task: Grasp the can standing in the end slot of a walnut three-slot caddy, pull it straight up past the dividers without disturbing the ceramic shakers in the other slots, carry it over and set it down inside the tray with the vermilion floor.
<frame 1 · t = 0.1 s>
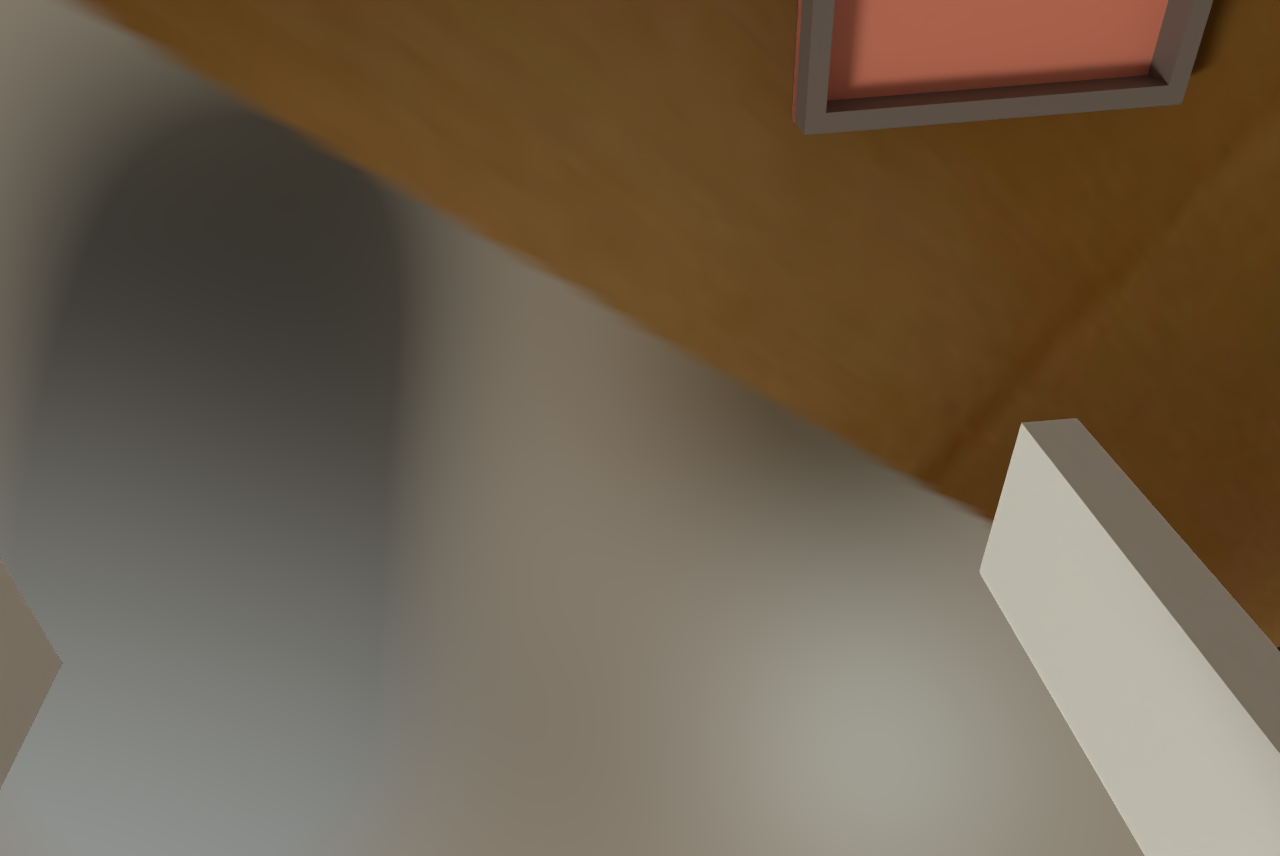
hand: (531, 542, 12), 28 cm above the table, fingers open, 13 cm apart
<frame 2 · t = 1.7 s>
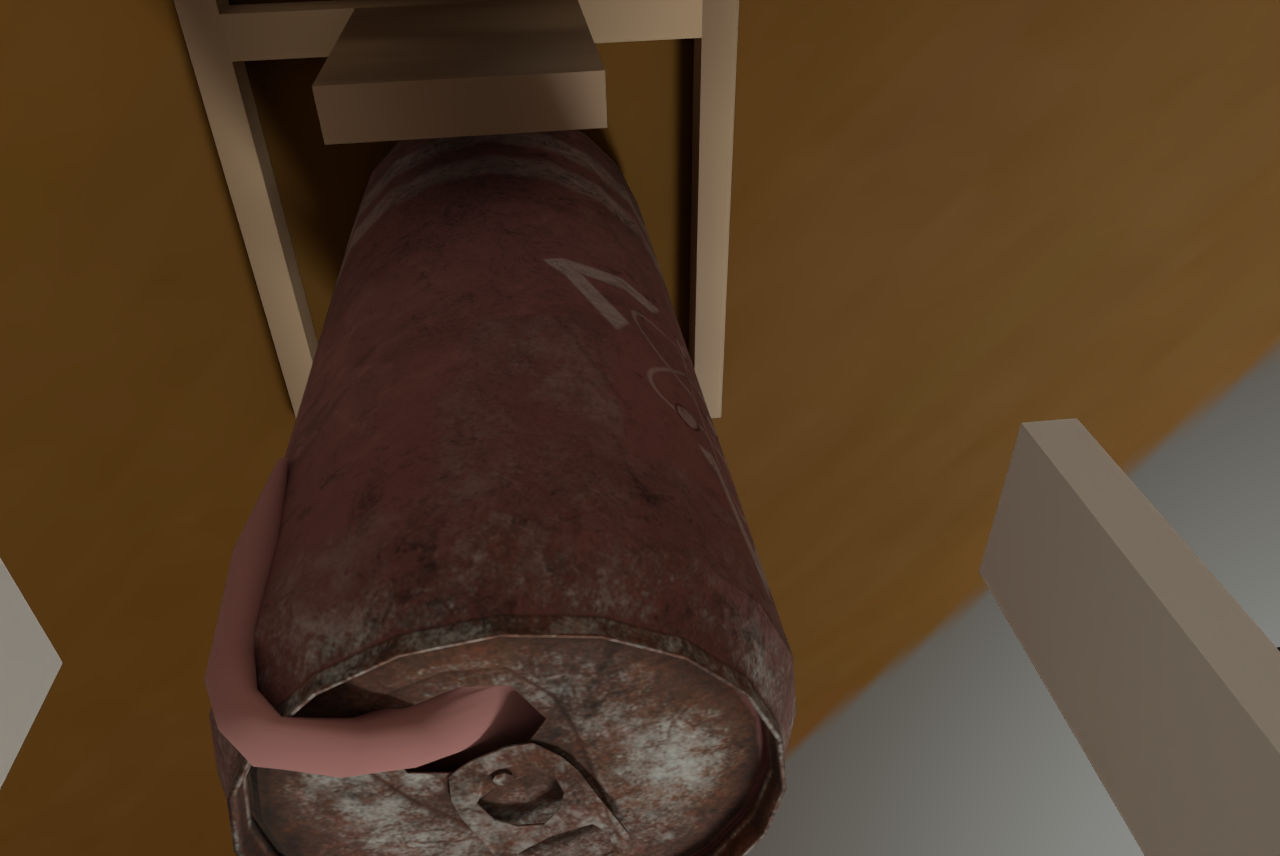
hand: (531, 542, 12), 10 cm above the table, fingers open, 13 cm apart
can: (496, 232, 20), resting in caddy
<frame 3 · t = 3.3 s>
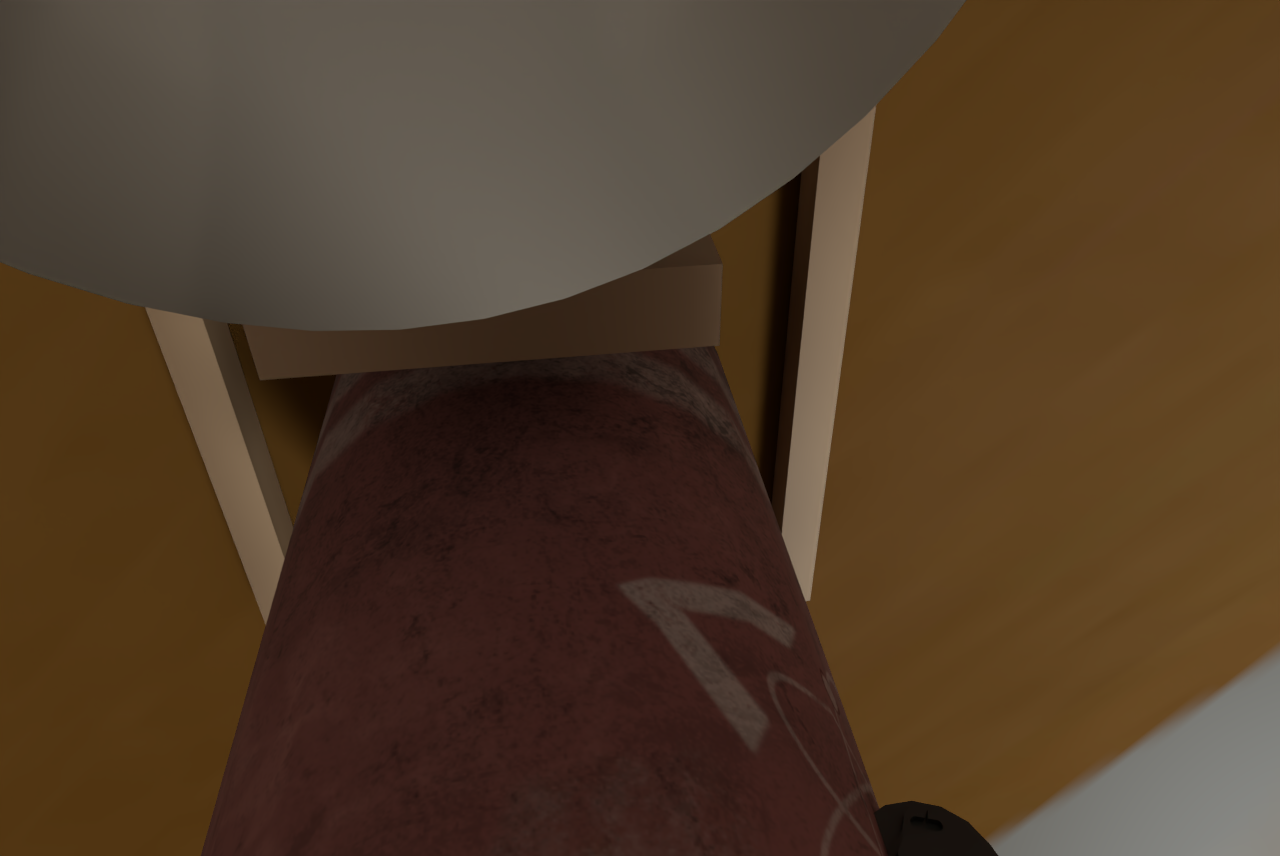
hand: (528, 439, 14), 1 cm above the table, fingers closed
can: (525, 382, 15), resting in caddy, touching hand
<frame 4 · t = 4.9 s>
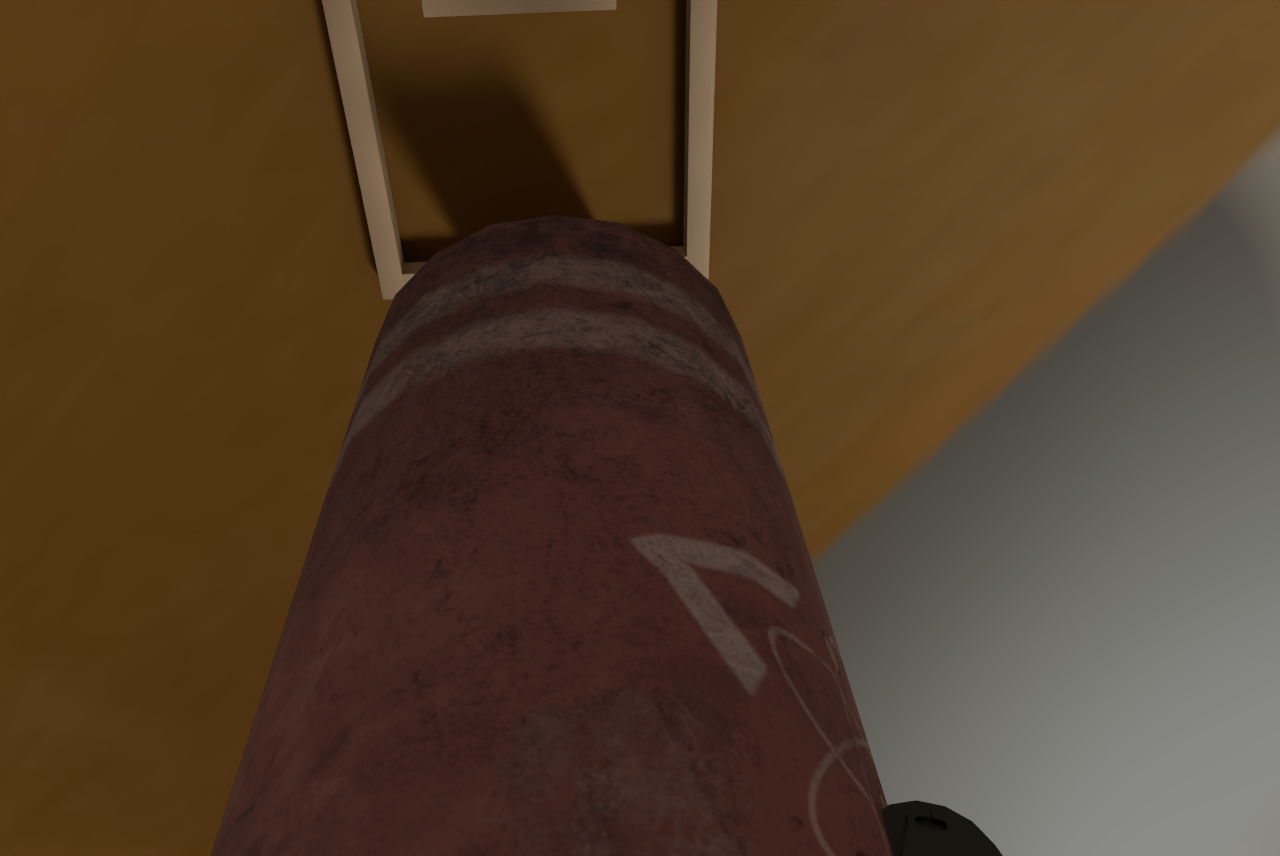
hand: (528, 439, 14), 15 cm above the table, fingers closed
can: (554, 360, 16), point 13 cm above the table, touching hand
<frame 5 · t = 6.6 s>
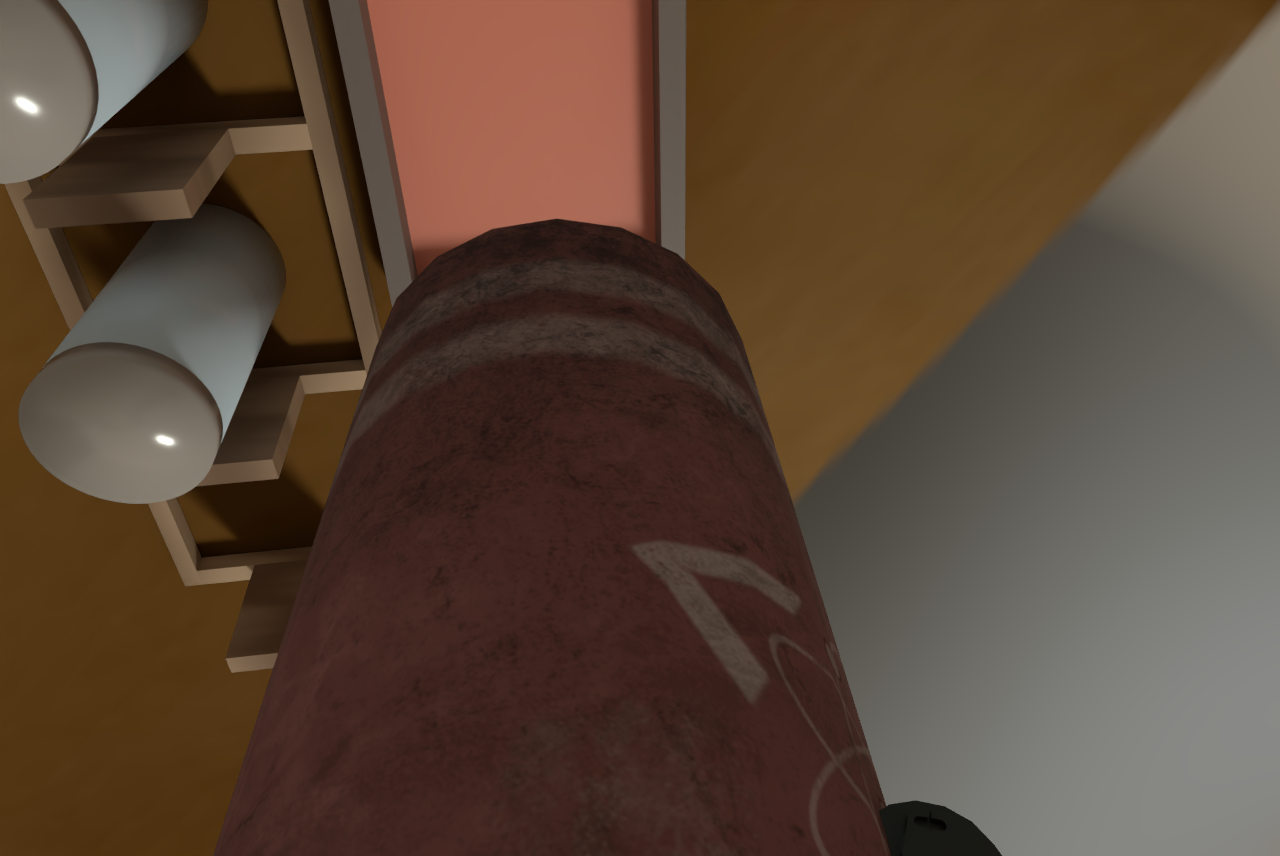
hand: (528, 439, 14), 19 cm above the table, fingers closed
caddy: (215, 267, 31), on the table
shaker a: (215, 267, 31), resting in caddy
can: (555, 364, 16), point 17 cm above the table, touching hand
tray: (518, 67, 29), on the table
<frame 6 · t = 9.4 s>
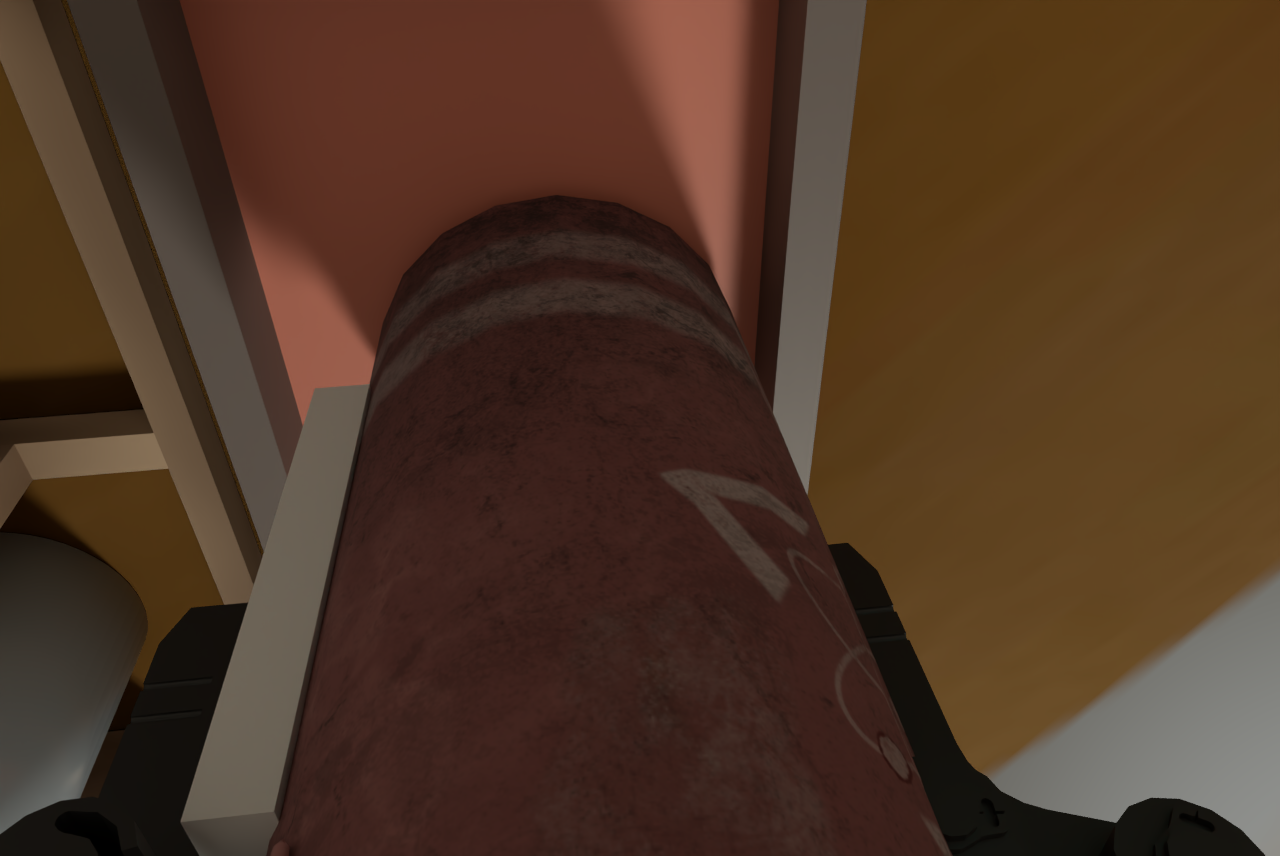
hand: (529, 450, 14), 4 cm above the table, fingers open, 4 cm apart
caddy: (28, 614, 19), on the table
shaker a: (29, 613, 19), resting in caddy
can: (552, 337, 16), resting on tray
tray: (525, 328, 17), on the table
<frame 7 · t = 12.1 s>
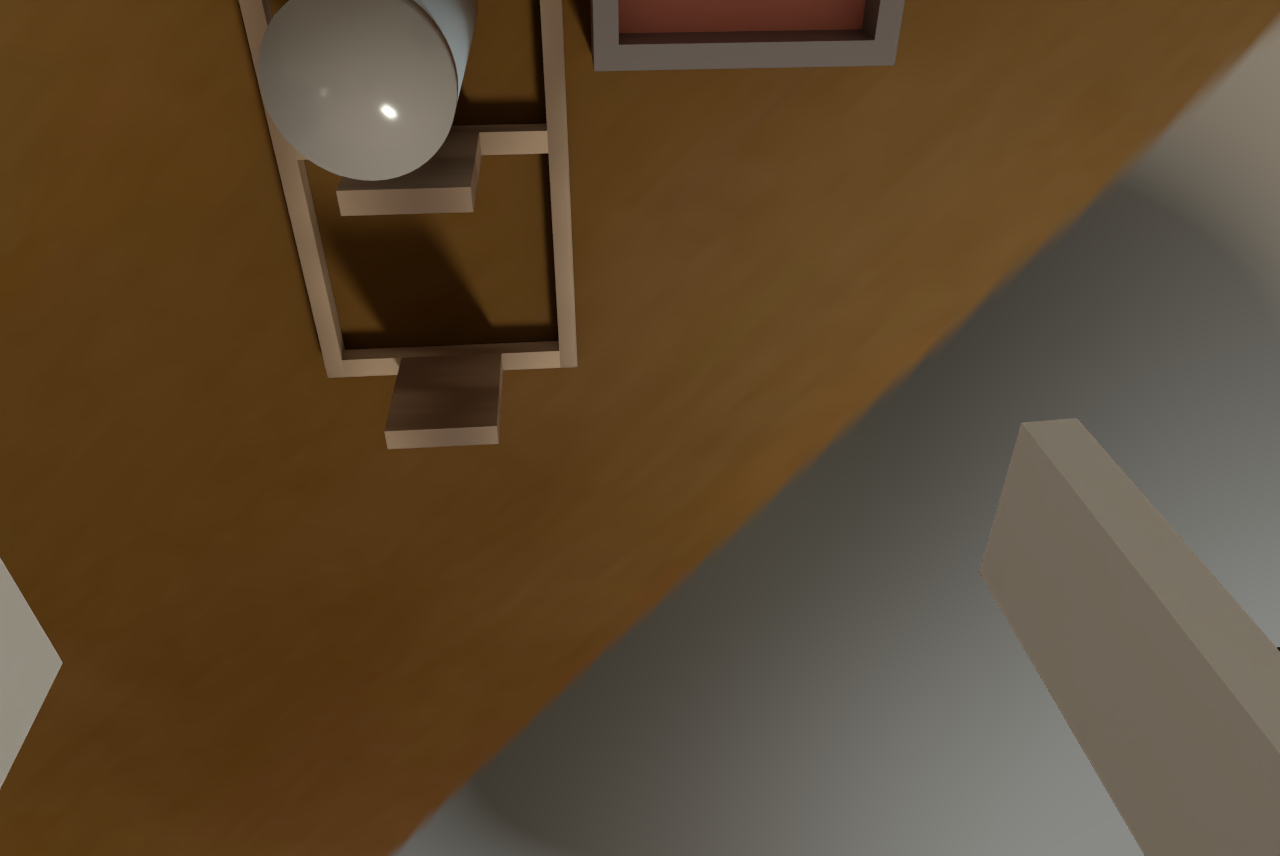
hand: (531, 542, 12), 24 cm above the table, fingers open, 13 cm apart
caddy: (406, 0, 30), on the table
shaker a: (406, 0, 30), resting in caddy
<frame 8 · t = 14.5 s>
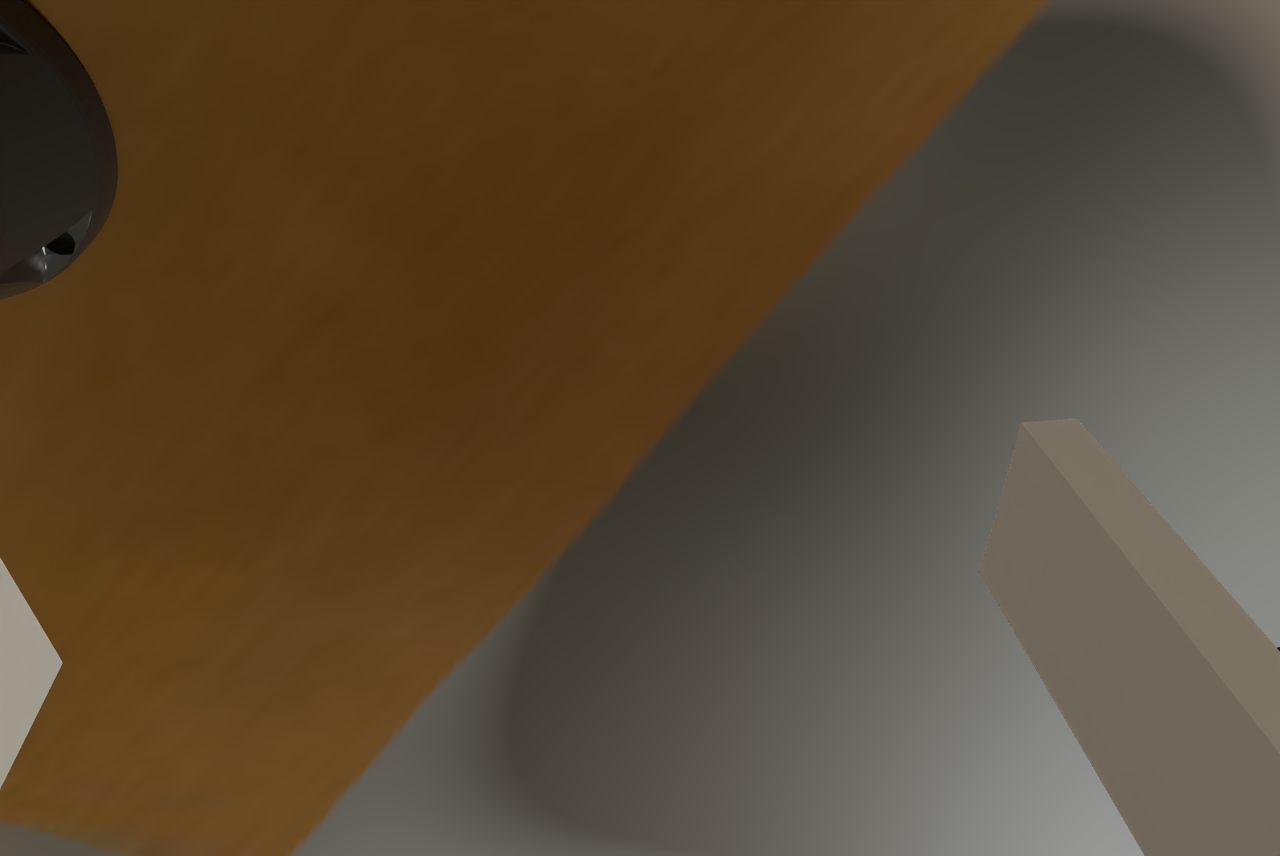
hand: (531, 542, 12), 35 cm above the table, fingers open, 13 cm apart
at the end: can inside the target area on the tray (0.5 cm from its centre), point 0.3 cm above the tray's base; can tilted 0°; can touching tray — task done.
